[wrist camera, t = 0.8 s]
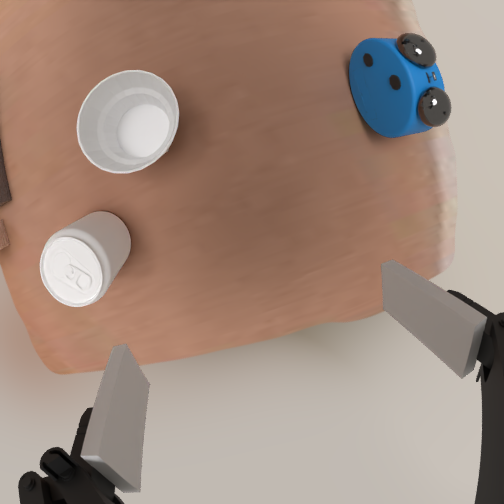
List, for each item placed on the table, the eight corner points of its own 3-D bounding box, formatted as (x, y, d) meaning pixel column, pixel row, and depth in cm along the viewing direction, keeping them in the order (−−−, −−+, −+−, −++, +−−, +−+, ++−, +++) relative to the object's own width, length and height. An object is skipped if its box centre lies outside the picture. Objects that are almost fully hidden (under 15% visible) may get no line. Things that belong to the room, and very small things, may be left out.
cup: (122, 85, 30) (99, 62, 21) (195, 104, 32) (195, 84, 23) (96, 159, 32) (64, 159, 23) (167, 180, 35) (157, 185, 25)
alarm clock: (393, 133, 38) (467, 131, 24) (362, 140, 38) (435, 137, 23) (369, 53, 34) (435, 24, 20) (335, 55, 33) (397, 18, 19)
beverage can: (94, 198, 33) (54, 214, 22) (143, 233, 36) (122, 264, 25) (67, 247, 34) (26, 280, 23) (113, 280, 37) (87, 325, 26)
